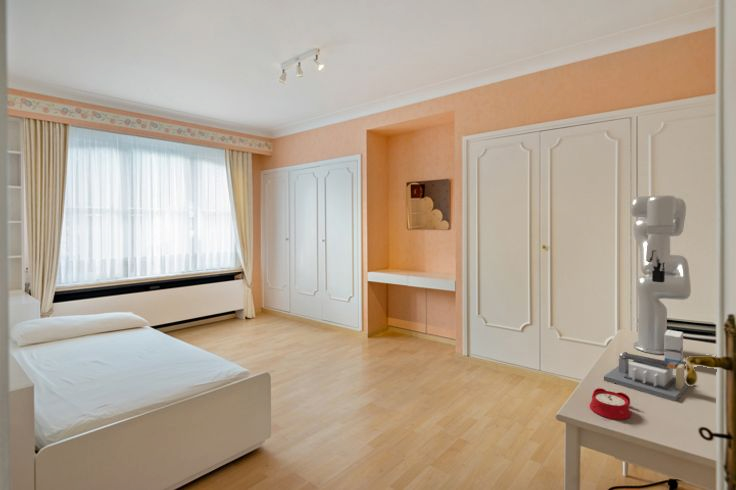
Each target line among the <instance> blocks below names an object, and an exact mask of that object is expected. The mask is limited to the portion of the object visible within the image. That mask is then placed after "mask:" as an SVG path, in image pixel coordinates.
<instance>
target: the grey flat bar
mask: <svg viewBox="0 0 736 490" xmlns="http://www.w3.org/2000/svg"><path fill="white" fill-rule="evenodd" d="M619 358H621V359H624V358H626V359H629V361H630V360H631V361H634V360H635V361H640V362H645V363H650V364H655V365H659V366H664V367H668V368H673V370H676V367H677V366H678V363H675V362H669V361H664V360H663V359H657V358H651V357H647V356H644V355H643V356H642V355H637V354H633V353H628V352H627V351H623V352H622V353H621V354H619Z"/></svg>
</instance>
